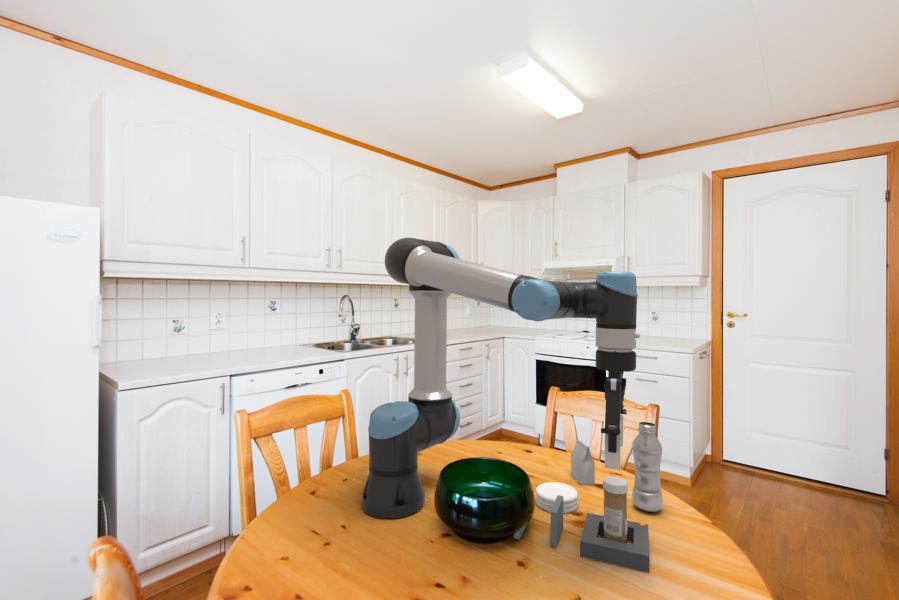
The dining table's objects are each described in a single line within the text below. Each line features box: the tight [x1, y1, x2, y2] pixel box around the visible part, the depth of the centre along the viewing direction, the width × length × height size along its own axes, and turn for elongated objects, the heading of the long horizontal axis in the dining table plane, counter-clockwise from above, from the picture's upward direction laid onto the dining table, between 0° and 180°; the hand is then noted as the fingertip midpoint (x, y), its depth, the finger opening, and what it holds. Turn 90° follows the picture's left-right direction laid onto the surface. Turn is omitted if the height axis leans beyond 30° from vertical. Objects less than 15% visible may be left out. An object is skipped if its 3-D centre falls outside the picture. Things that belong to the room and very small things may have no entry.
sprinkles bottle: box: [602, 475, 629, 544], centre depth 86 cm, size 5×5×14 cm
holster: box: [513, 495, 564, 549], centre depth 91 cm, size 9×8×7 cm
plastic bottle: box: [631, 421, 664, 513], centre depth 101 cm, size 6×7×20 cm
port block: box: [579, 512, 650, 574], centre depth 86 cm, size 12×12×3 cm
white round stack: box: [535, 481, 579, 515], centre depth 104 cm, size 10×10×4 cm
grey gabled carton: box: [570, 439, 596, 486], centre depth 118 cm, size 4×7×10 cm, turn 7°
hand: (614, 456), depth 86 cm, fingers open, 13 cm apart
